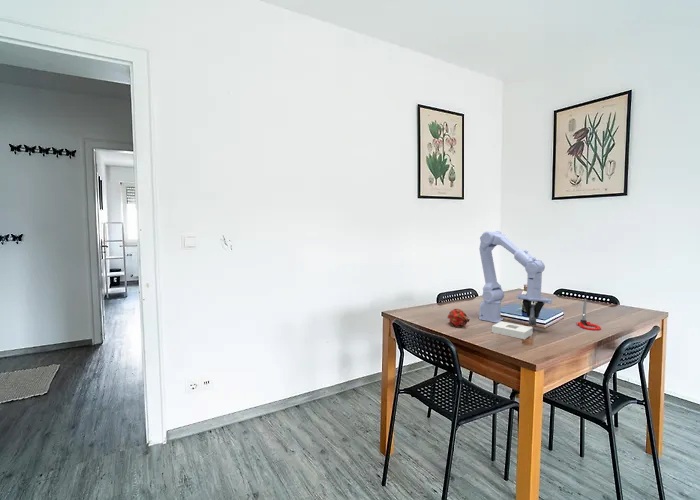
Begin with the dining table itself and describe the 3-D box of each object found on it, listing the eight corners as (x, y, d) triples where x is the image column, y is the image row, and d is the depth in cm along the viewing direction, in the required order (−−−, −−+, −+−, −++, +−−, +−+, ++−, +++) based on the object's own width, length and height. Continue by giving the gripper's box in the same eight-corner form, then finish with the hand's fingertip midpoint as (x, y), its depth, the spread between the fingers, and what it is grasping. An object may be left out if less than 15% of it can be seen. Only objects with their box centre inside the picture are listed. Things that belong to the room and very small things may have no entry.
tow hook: (605, 331, 170) (589, 324, 179) (608, 303, 168) (592, 298, 177) (588, 332, 169) (573, 325, 178) (591, 304, 167) (576, 298, 176)
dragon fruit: (451, 324, 185) (466, 335, 174) (440, 316, 181) (454, 326, 170) (461, 310, 185) (476, 320, 174) (450, 302, 181) (465, 311, 170)
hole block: (491, 332, 167) (491, 325, 167) (500, 327, 174) (500, 321, 174) (524, 339, 157) (524, 332, 157) (532, 334, 165) (532, 327, 164)
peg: (527, 324, 170) (528, 305, 169) (530, 323, 172) (530, 303, 171) (534, 325, 168) (535, 306, 167) (537, 324, 170) (537, 305, 169)
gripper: (514, 286, 171) (513, 315, 172) (548, 291, 161) (547, 322, 162) (519, 284, 176) (518, 312, 177) (553, 288, 166) (552, 318, 167)
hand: (532, 317), depth 170 cm, fingers closed on peg, 3 cm apart
